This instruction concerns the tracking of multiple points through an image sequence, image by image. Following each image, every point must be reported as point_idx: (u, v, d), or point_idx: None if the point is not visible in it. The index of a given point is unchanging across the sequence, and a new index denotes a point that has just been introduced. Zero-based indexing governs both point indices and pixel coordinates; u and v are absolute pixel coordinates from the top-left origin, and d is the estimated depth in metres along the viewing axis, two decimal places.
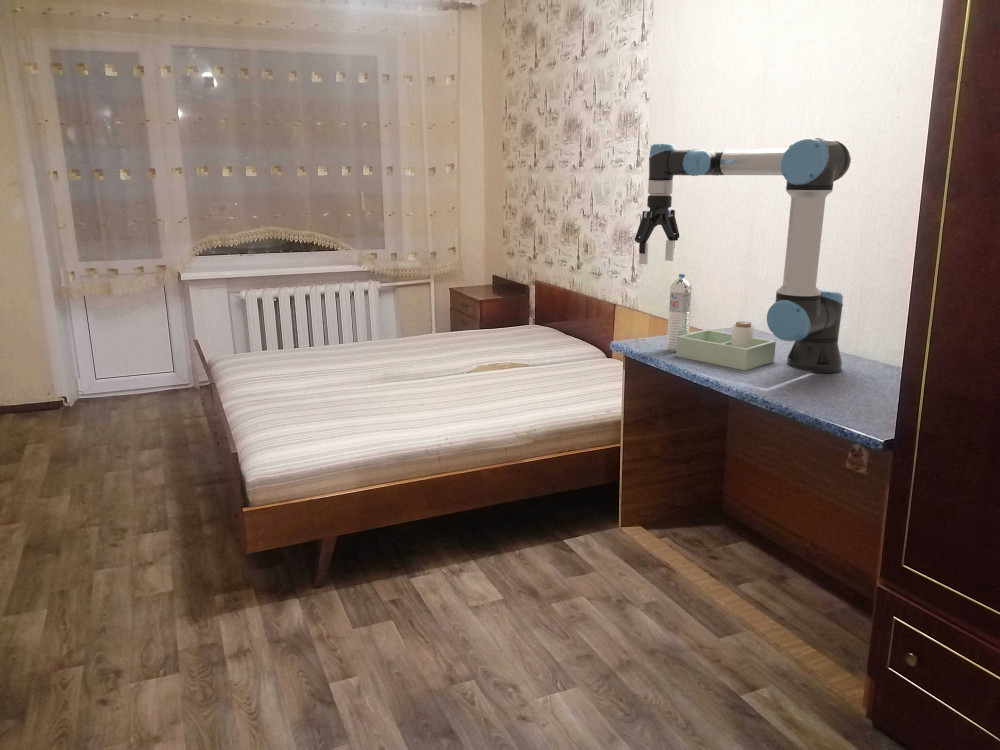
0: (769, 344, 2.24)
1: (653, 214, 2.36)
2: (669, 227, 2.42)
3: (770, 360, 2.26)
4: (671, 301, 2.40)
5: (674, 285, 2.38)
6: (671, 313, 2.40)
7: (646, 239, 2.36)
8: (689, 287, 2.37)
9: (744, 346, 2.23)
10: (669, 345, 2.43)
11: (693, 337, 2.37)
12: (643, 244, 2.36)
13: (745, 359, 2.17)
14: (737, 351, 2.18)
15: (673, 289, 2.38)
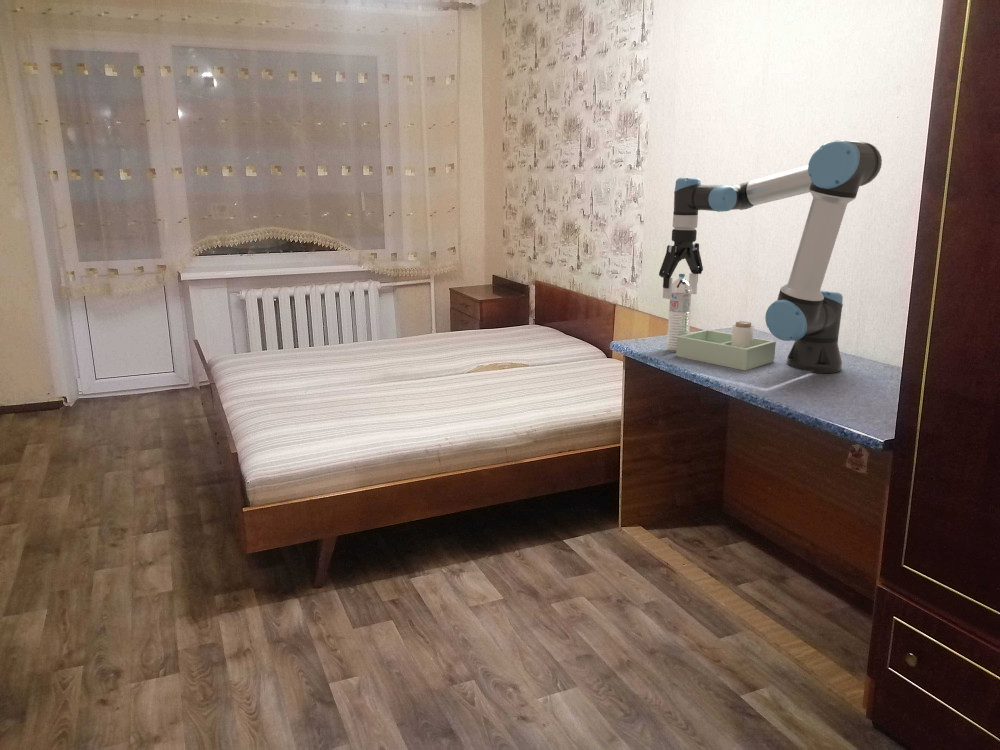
0: (769, 344, 2.24)
1: (678, 248, 2.33)
2: (693, 261, 2.40)
3: (770, 360, 2.26)
4: (671, 301, 2.40)
5: (674, 285, 2.38)
6: (671, 313, 2.40)
7: (670, 274, 2.33)
8: (689, 287, 2.37)
9: (744, 346, 2.23)
10: (669, 345, 2.43)
11: (693, 337, 2.37)
12: (667, 279, 2.33)
13: (745, 359, 2.17)
14: (737, 351, 2.18)
15: (673, 289, 2.38)
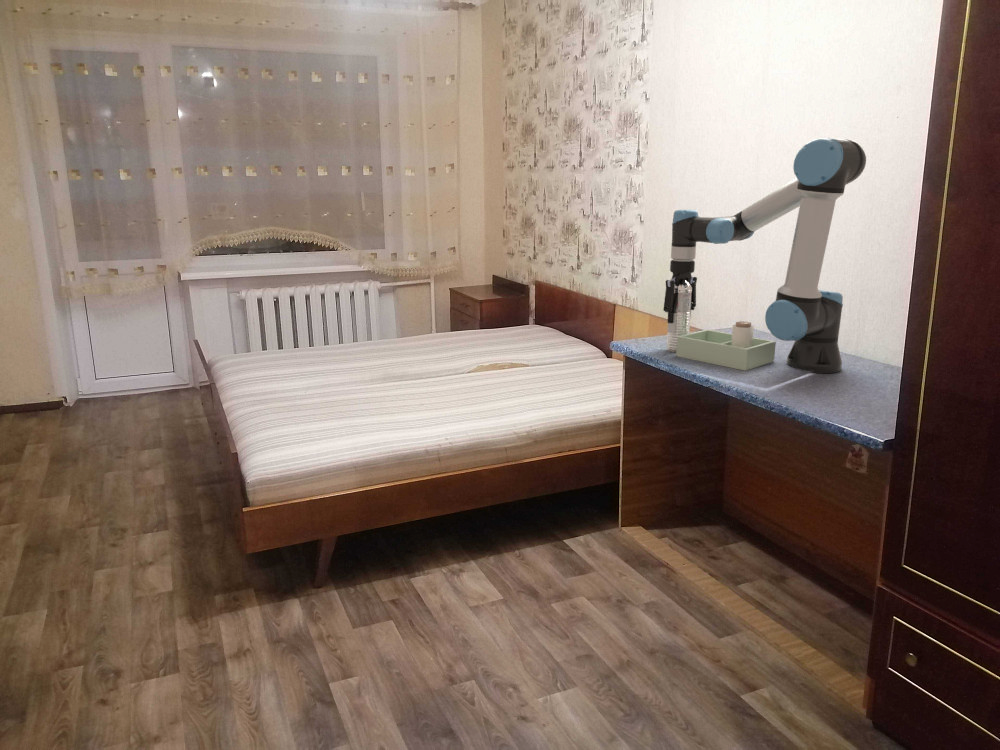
0: (769, 344, 2.24)
1: (676, 280, 2.36)
2: None
3: (770, 360, 2.26)
4: None
5: None
6: None
7: (674, 309, 2.37)
8: (689, 287, 2.37)
9: (744, 346, 2.23)
10: (669, 345, 2.43)
11: (693, 337, 2.37)
12: (672, 314, 2.38)
13: (745, 359, 2.17)
14: (737, 351, 2.18)
15: None
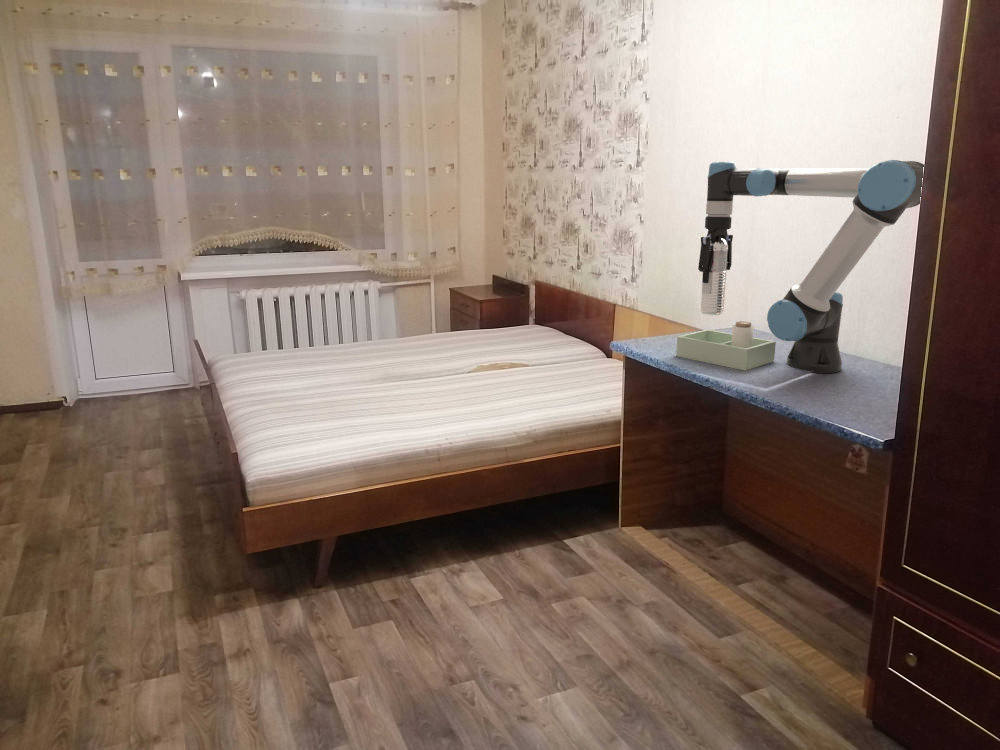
0: (769, 344, 2.24)
1: (712, 237, 2.22)
2: None
3: (770, 360, 2.26)
4: None
5: None
6: None
7: (710, 268, 2.24)
8: (725, 244, 2.24)
9: (744, 346, 2.23)
10: (704, 307, 2.29)
11: (693, 337, 2.37)
12: (707, 273, 2.25)
13: (745, 359, 2.17)
14: (737, 351, 2.18)
15: None
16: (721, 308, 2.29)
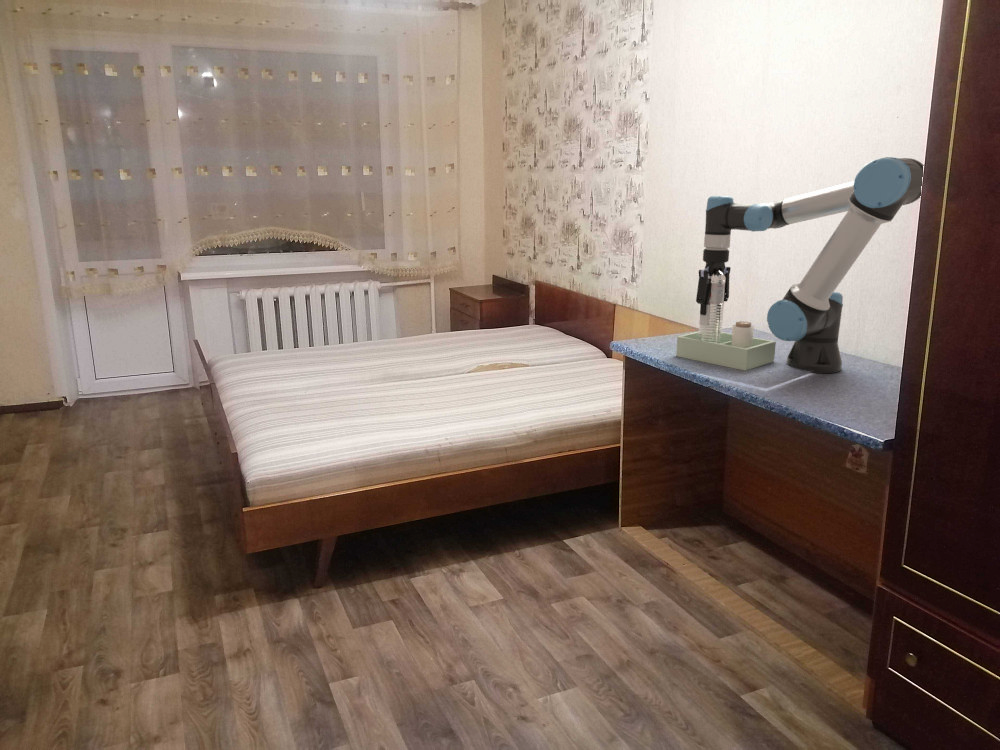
0: (769, 344, 2.24)
1: (710, 270, 2.25)
2: None
3: (770, 360, 2.26)
4: None
5: None
6: None
7: (707, 300, 2.27)
8: (723, 277, 2.26)
9: (744, 346, 2.23)
10: (701, 338, 2.32)
11: (693, 337, 2.37)
12: (705, 305, 2.27)
13: (745, 359, 2.17)
14: (737, 351, 2.18)
15: None
16: (718, 339, 2.31)
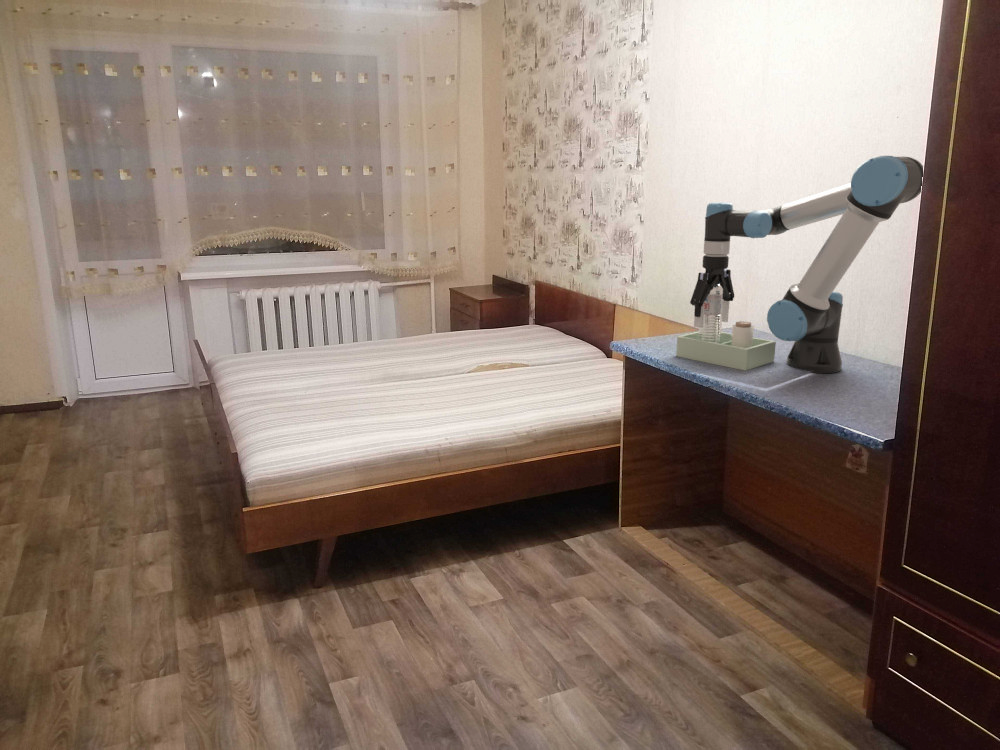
0: (769, 344, 2.24)
1: (709, 276, 2.25)
2: (725, 288, 2.32)
3: (770, 360, 2.26)
4: None
5: None
6: None
7: (702, 302, 2.25)
8: (720, 288, 2.28)
9: (744, 346, 2.23)
10: None
11: (693, 337, 2.37)
12: (699, 307, 2.25)
13: (745, 359, 2.17)
14: (737, 351, 2.18)
15: None
16: None
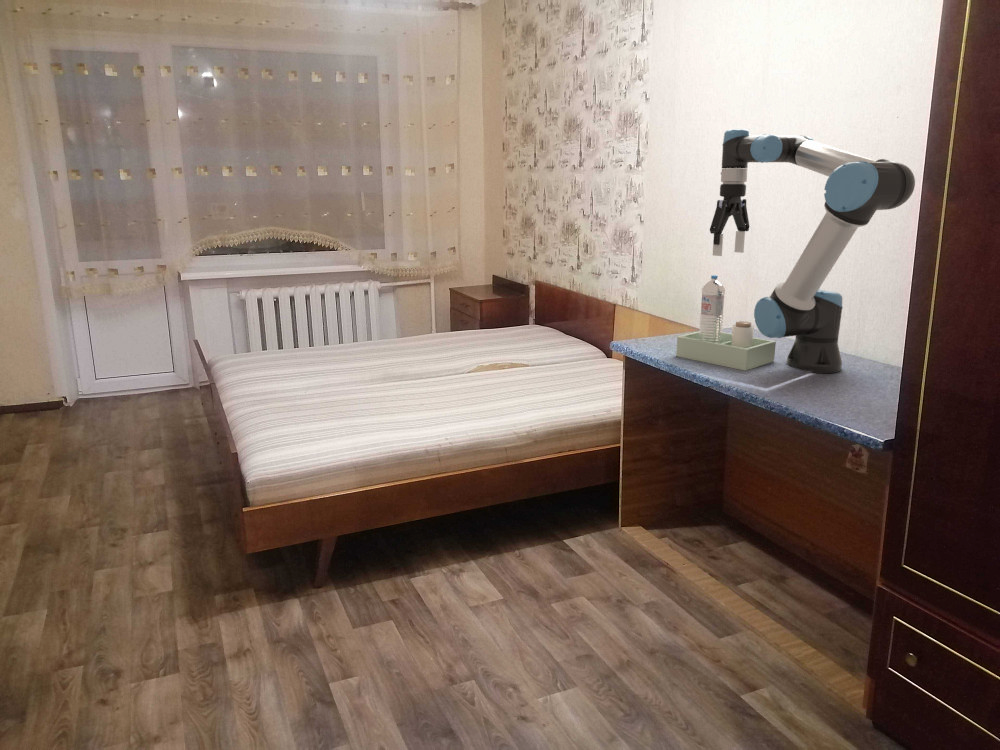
0: (769, 344, 2.24)
1: (728, 203, 2.26)
2: (741, 217, 2.32)
3: (770, 360, 2.26)
4: (703, 304, 2.30)
5: (706, 287, 2.28)
6: (703, 316, 2.30)
7: (721, 229, 2.25)
8: (722, 289, 2.27)
9: (744, 346, 2.23)
10: None
11: (693, 337, 2.37)
12: (718, 235, 2.25)
13: (745, 359, 2.17)
14: (737, 351, 2.18)
15: (705, 291, 2.28)
16: None
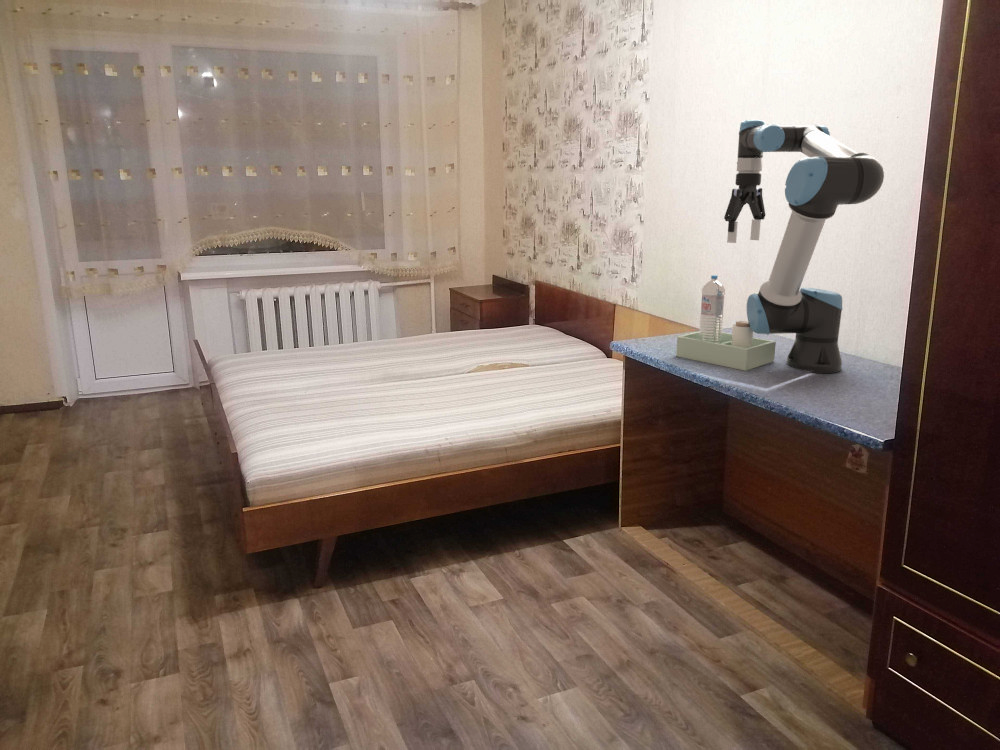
0: (769, 344, 2.24)
1: (743, 192, 2.33)
2: (756, 206, 2.39)
3: (770, 360, 2.26)
4: (703, 304, 2.30)
5: (706, 287, 2.28)
6: (703, 316, 2.30)
7: (736, 217, 2.33)
8: (722, 289, 2.27)
9: (744, 346, 2.23)
10: None
11: (693, 337, 2.37)
12: (732, 222, 2.33)
13: (745, 359, 2.17)
14: (737, 351, 2.18)
15: (705, 291, 2.28)
16: None
